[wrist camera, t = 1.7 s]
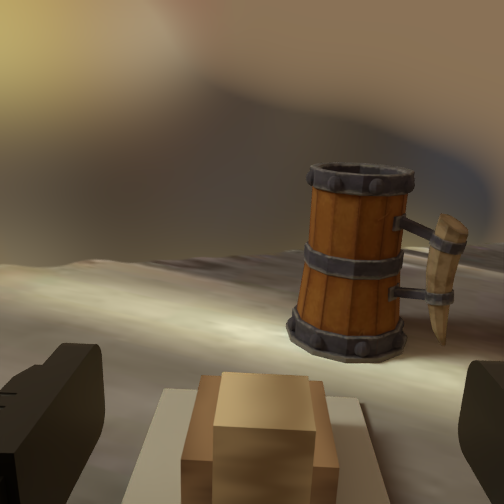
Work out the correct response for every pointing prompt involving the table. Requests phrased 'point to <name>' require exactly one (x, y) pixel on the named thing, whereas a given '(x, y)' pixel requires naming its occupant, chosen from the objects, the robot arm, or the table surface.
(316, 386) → the walnut base
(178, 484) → the build mat
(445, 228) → the mug
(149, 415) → the table surface
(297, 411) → the maple pillar
